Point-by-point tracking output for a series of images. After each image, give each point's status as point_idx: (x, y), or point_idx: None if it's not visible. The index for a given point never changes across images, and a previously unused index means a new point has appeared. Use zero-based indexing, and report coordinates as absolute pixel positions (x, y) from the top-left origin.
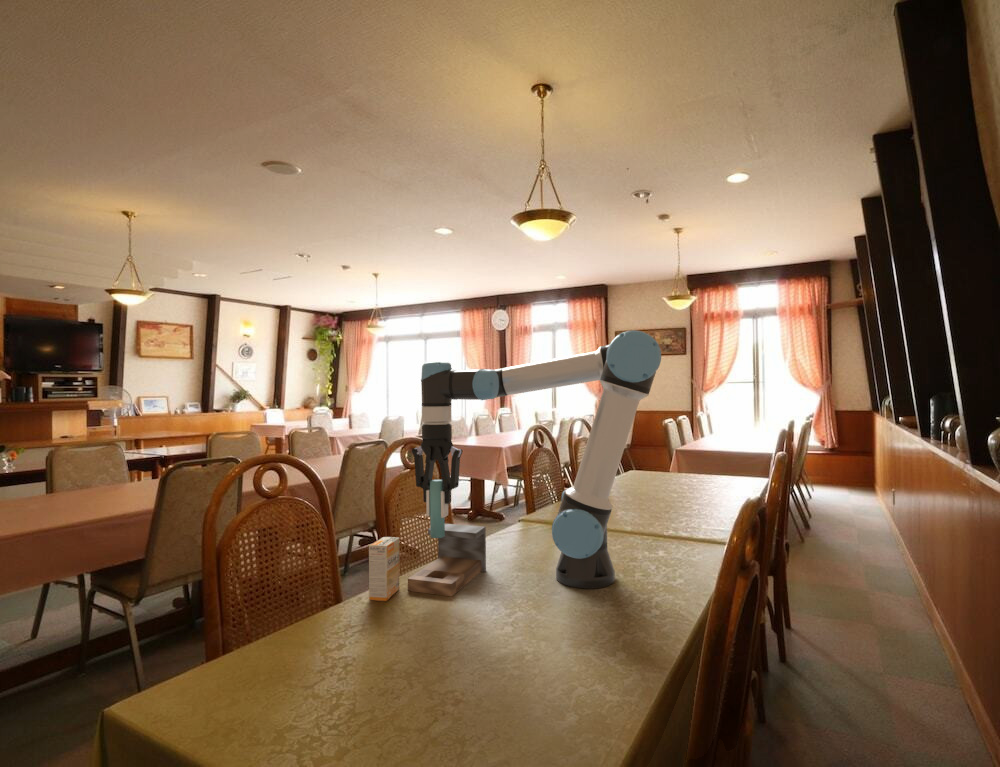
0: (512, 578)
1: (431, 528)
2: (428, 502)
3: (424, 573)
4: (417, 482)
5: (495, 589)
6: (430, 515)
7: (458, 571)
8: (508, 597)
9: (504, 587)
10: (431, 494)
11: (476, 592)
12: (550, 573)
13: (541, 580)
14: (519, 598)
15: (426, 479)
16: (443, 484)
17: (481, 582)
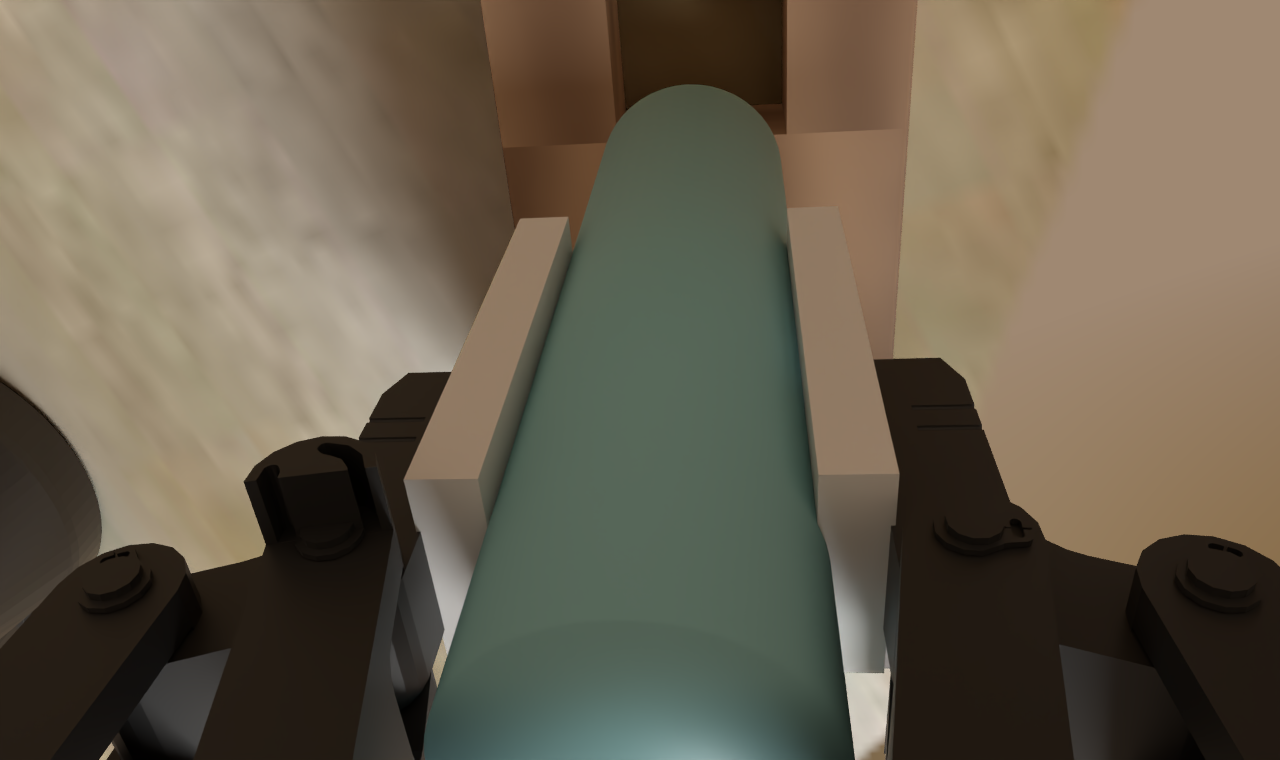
0: (300, 358)
1: (735, 133)
2: (814, 324)
3: (834, 33)
4: (1275, 633)
5: (276, 133)
6: (766, 224)
7: (577, 183)
8: (101, 21)
9: (246, 191)
10: (728, 403)
11: (362, 25)
12: (150, 500)
13: (120, 382)
14: (26, 33)
15: (953, 728)
16: (354, 617)
17: (444, 224)
